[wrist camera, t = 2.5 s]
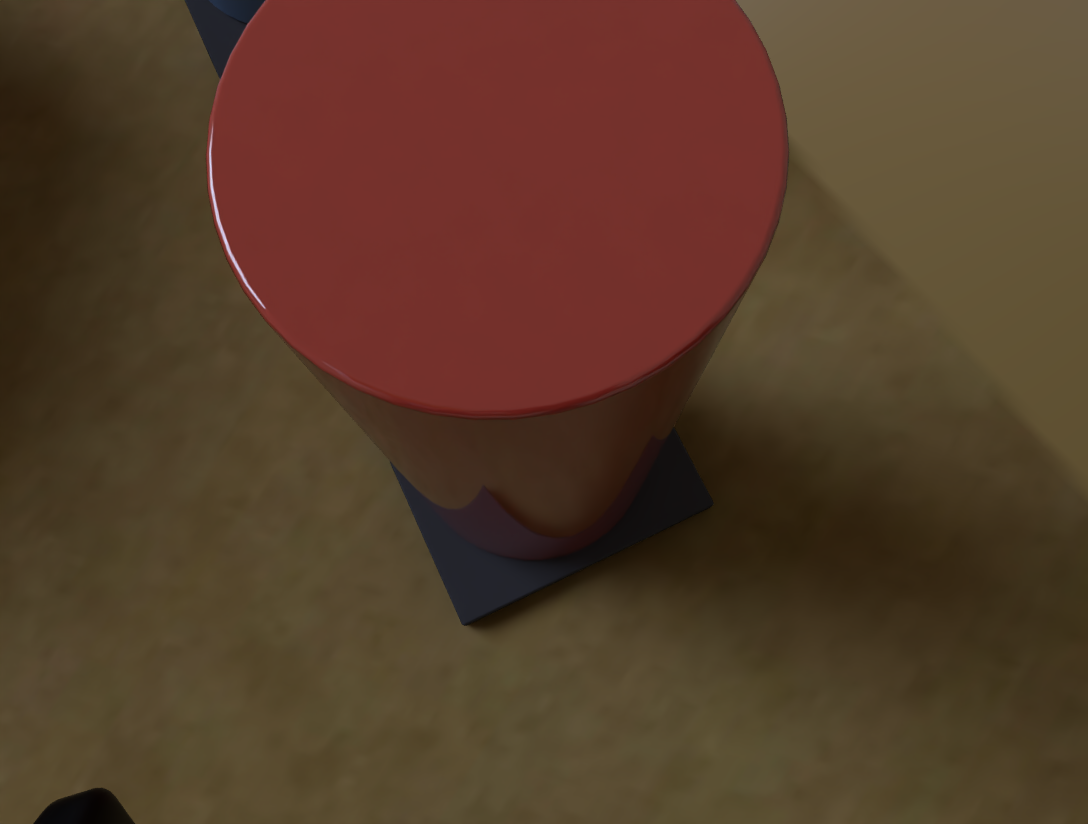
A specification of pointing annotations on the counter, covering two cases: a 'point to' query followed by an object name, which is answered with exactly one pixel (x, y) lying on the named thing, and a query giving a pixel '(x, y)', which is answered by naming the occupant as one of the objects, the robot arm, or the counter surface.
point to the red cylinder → (502, 232)
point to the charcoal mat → (463, 567)
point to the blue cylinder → (238, 8)
